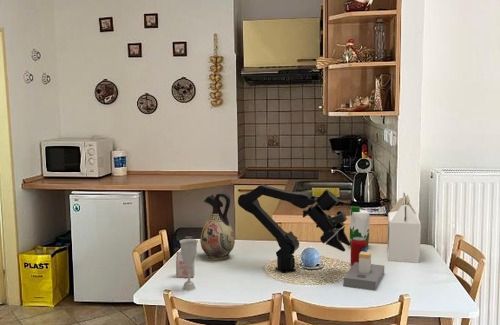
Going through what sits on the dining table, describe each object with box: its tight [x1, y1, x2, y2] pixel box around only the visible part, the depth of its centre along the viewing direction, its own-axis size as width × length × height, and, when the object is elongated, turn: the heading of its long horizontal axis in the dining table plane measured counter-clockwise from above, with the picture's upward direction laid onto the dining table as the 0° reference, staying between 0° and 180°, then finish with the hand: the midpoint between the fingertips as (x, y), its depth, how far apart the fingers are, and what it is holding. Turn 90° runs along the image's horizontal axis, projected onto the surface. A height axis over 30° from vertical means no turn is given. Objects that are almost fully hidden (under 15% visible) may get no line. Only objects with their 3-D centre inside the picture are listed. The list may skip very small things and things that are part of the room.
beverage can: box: [350, 237, 368, 267], centre depth 232 cm, size 7×7×12 cm
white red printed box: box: [175, 251, 195, 279], centre depth 216 cm, size 4×7×10 cm, turn 88°
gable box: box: [386, 192, 422, 264], centre depth 248 cm, size 22×13×28 cm, turn 167°
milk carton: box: [349, 205, 371, 251], centre depth 260 cm, size 9×9×20 cm
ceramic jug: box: [199, 191, 236, 261], centre depth 242 cm, size 17×15×30 cm
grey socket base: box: [342, 262, 385, 291], centre depth 213 cm, size 12×22×4 cm, turn 158°
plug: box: [359, 251, 372, 274], centre depth 213 cm, size 4×4×11 cm
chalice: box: [179, 238, 199, 292], centre depth 202 cm, size 7×7×18 cm
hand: (347, 248), depth 215 cm, fingers open, 9 cm apart
